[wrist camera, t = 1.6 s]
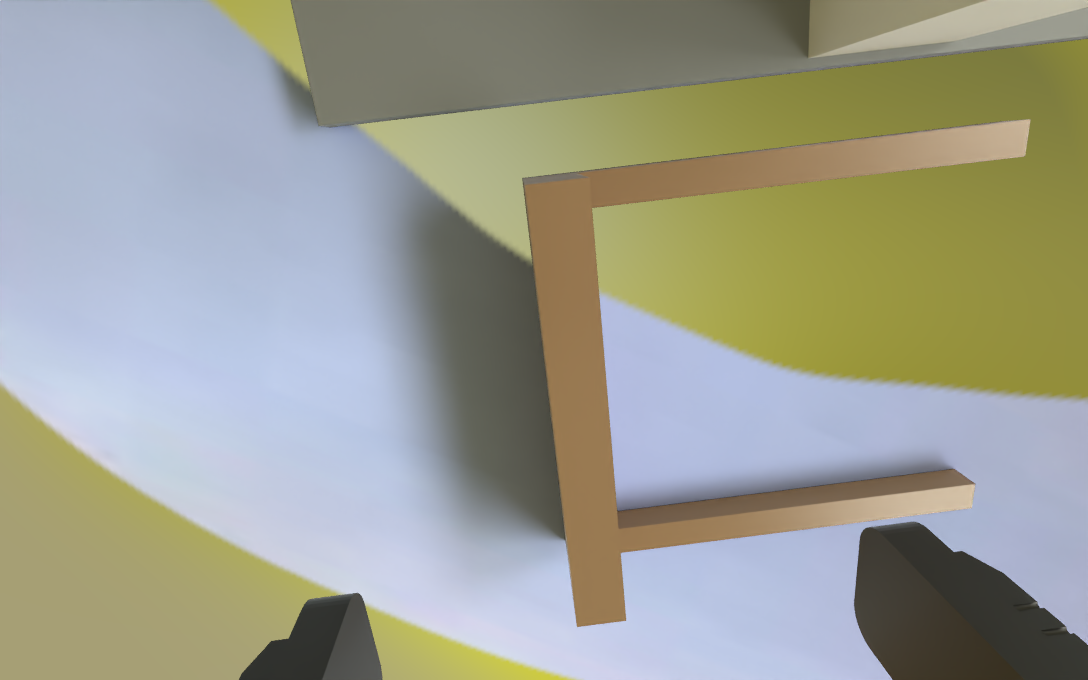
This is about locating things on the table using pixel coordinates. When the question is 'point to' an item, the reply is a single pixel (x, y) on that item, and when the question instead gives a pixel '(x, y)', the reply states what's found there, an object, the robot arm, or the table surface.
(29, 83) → the table surface
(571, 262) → the brown u-shaped frame
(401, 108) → the bracket-mounted cylinder
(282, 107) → the table surface
